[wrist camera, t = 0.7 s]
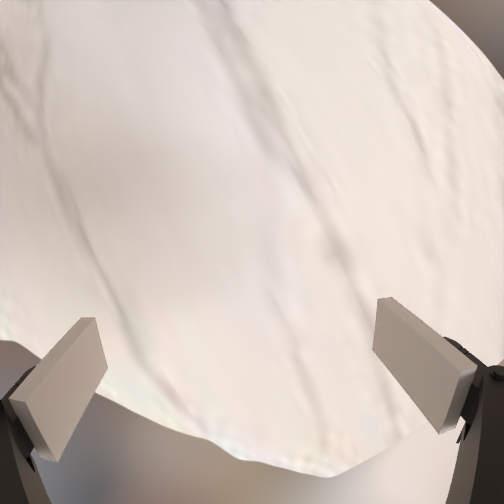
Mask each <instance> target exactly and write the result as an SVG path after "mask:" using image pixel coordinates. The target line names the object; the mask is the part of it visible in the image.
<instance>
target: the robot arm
mask: <svg viewBox="0 0 504 504" xmlns="http://www.w3.org/2000/svg"><path fill="white" fill-rule="evenodd" d="M372 350H373V351H374V352H375V354H376V355H377V356H378V357H379V359H380V360H381V361H382V362H383V364H384V365H385V366H386V367H387V369H388V370H389V371H390V372H391V374H392V375H393V376H394V377H395V379H396V380H397V381H398V382H399V384H400V385H401V386H402V388H403V389H404V390H405V391H406V393H407V394H408V395H409V396H410V398H411V399H412V400H413V402H414V403H415V404H416V405H417V407H418V408H419V409H420V411H421V412H422V413H423V414H424V416H425V417H426V418H427V420H428V421H429V422H430V423H431V425H432V426H433V427H434V429H435V430H436V431H437V433H438V434H442V433H444V432H447V431H449V430H452V429H454V428H455V427H456V425H457V423H458V420H459V417H460V416H462V418H463V419H464V420H465V421H466V422H465V424H464V426H463V429H462V431H461V433H460V436H459V438H458V440H457V442H456V443H459V442H460V446H459V451H458V456H457V461H456V466H455V470H454V474H453V478H452V482H451V486H450V490H449V494H448V497H447V501H446V504H504V367H503V366H499V365H493V366H489V367H487V366H486V365H485V364H483V363H482V362H481V361H480V360H479V359H477V358H476V357H475V356H474V355H472V354H471V353H469V351H467V350H466V349H465V348H463V347H462V346H461V345H460V344H459V343H457V342H456V341H454V340H452V339H449V338H447V337H442V336H441V335H439V334H438V333H437V332H436V331H434V330H433V329H432V328H431V327H429V326H428V325H427V324H426V323H424V322H423V321H422V320H421V319H419V318H418V317H417V316H415V315H414V314H413V313H412V312H410V311H409V310H408V309H406V308H405V307H404V306H403V305H401V304H400V303H399V302H397V301H396V300H395V299H394V298H392V297H388V298H381V299H378V301H377V313H376V323H375V332H374V340H373V348H372ZM107 369H108V366H107V362H106V359H105V355H104V352H103V348H102V344H101V340H100V336H99V332H98V328H97V323H96V319H95V318H80V319H79V320H78V321H77V323H76V324H75V325H74V326H73V327H72V328H71V329H70V330H69V331H68V332H67V333H66V334H65V335H64V336H63V337H62V338H61V340H60V341H59V342H58V343H57V344H56V345H55V346H54V347H53V348H52V349H51V350H50V351H49V353H48V354H47V355H46V356H45V357H44V358H43V359H42V360H41V362H40V363H39V364H38V365H37V366H34V367H32V368H31V369H29V370H28V371H26V372H25V373H24V374H23V376H22V377H21V378H20V380H18V381H17V382H16V383H15V385H14V386H13V387H12V388H11V389H10V390H9V391H8V393H7V394H6V395H5V396H4V397H3V398H2V400H0V504H51V502H50V500H49V498H48V495H47V493H46V490H45V488H44V485H43V483H42V480H41V478H40V475H39V473H38V470H37V467H36V464H35V461H34V459H33V458H32V456H31V454H30V453H31V451H32V450H33V448H35V449H36V451H37V453H38V454H39V456H40V457H41V458H42V459H46V460H50V461H54V462H58V461H59V459H60V457H61V455H62V452H63V451H64V449H65V446H66V445H67V443H68V441H69V439H70V437H71V435H72V433H73V431H74V429H75V427H76V425H77V423H78V422H79V420H80V418H81V416H82V414H83V412H84V410H85V408H86V407H87V405H88V403H89V401H90V399H91V397H92V396H93V394H94V392H95V390H96V388H97V387H98V385H99V383H100V381H101V379H102V378H103V376H104V374H105V372H106V371H107Z"/></svg>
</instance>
